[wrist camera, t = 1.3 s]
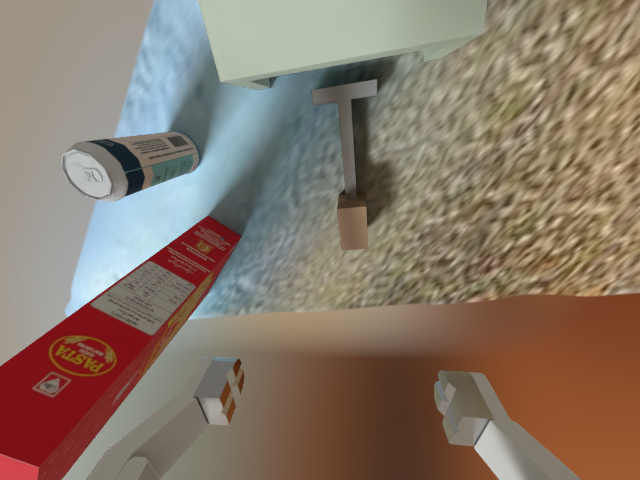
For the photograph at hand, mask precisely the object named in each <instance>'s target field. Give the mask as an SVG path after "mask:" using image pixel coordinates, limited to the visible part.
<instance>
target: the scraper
mask: <svg viewBox="0 0 640 480" xmlns="http://www.w3.org/2000/svg"><path fill="white" fill-rule="evenodd" d="M311 93H312V101H313V105H322V104H329V103H335V102H338V107H339V119H340V131H341V143H342V156H343V168H344V180H345V192H346V194H339V199H338V206H337V212H338V222H339V232H340V242H341V250H353V249H368V235H367V211H366V202H365V196H364V192H360V193H356V176H355V160H354V143H353V127H352V110H351V100H355V99H361V98H368V97H374V96H376V95H377V79H375V80H369V81H363V82H357V83H351V84H345V85H339V86H333V87H327V88H321V89H315V90H311Z"/></svg>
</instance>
